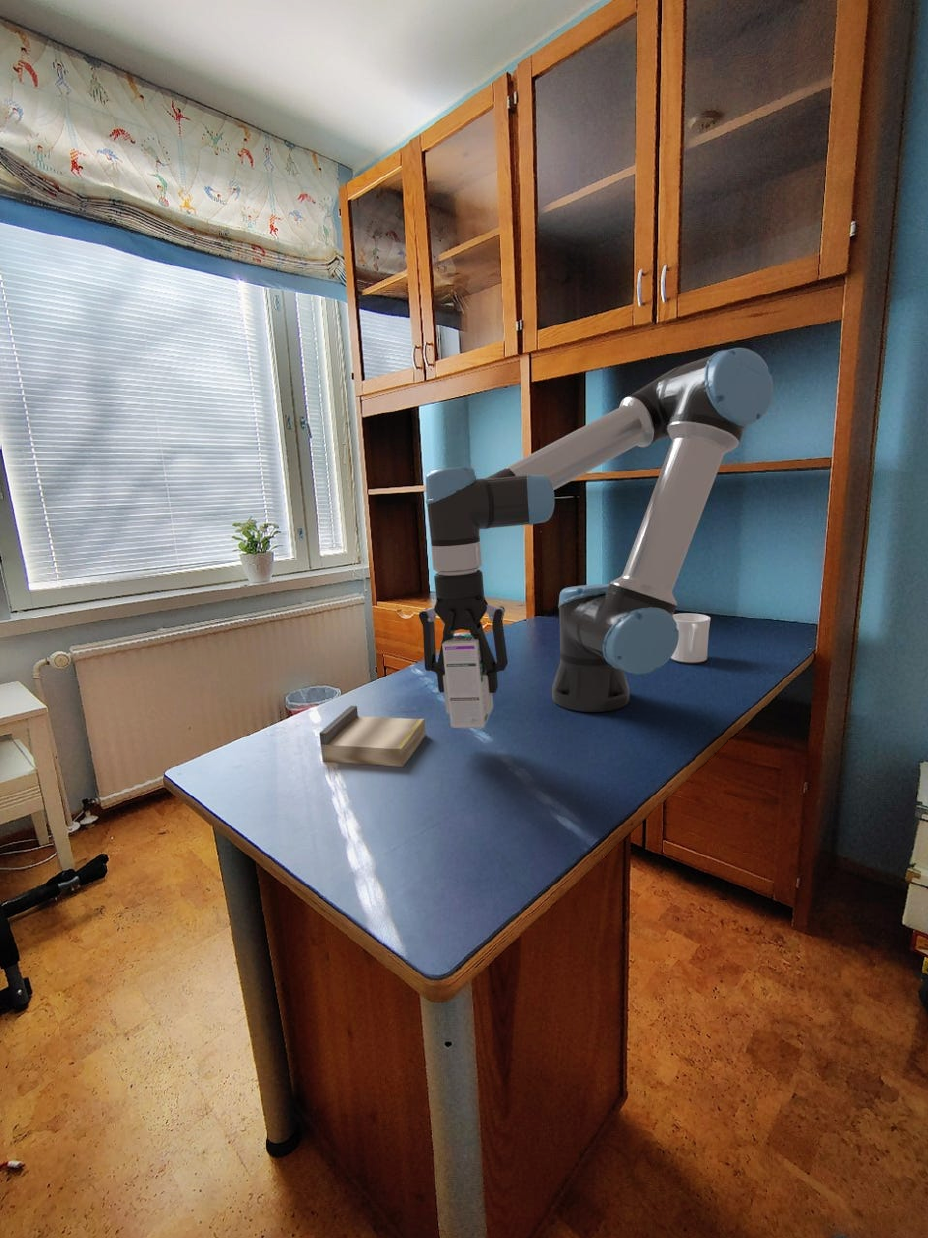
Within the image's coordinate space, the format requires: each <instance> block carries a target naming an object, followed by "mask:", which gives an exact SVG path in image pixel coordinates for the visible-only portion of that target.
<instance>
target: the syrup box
mask: <svg viewBox="0 0 928 1238" xmlns="http://www.w3.org/2000/svg"><path fill="white" fill-rule="evenodd" d="M442 647H443V657H444V667H445V677H446V687H447V696H448V706H449V713H448V715H449V722H450V723H449V724H450V727H451V728H452V729H453V728H455V729H485V727H486V725H487V723H488V720H489V718H490V715H491V713H490V714H485V701H484V689H483V674H484V673H485V671H486V669H485V666H484V664H483V661H482V659H481V656H480V648H479V641H478V640H477V639H474V638H473V636H472V635H471V633H470V631H468V632H467V631H465V632H464V631H463V632H456V633H454V636H453V637H452V638H451V639H450V640H446V641H445V642H444V643H443V644H442Z"/></svg>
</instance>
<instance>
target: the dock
mask: <svg viewBox="0 0 928 1238" xmlns="http://www.w3.org/2000/svg"><path fill="white" fill-rule="evenodd" d="M425 721H426V720H425V718H404V717H403V718H401V717H400V718H399V717H384V716H383V717H380V716H379V717H378V716H362V715H361V716H360V715H359V713H358V706H357V705H350V706H349V707H347V708H346V709H345V710H344V711H343V712H342V713H341V714H339V716H337V717H336V718H335V719H334V720H333V721H331V722H330V723H329V724H328V725H327V726H325V727H324V728H323V729H322V730H321V731H319V741H320V750H321V751H320V752H321V759H322V760H321V761H322V762H329V763H340V764H341V763H342V764H355V765H370V766H371V765H372V766H383V767H384V766H387V767H399V768H400V767H401V768H403V767H404V766H405V764H406V763H407V761H408V760H409V759H410V757H411V756H412V755H413V753H414V752H415V750H417V748H418V747H419V745H420V744H421V743H422V741H423V739H424V738H425V737H426V734H427V733H426V722H425Z"/></svg>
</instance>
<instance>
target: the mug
mask: <svg viewBox="0 0 928 1238" xmlns="http://www.w3.org/2000/svg"><path fill="white" fill-rule="evenodd" d="M673 618H674V620H675V621H676V623H677V630H679V640H678V644H677V647H676V650H675V651H674V653H673V655H672V656H671V658H670V660H671V661H672V662H674V663H677V664H682V665H687V666H688V665H691V666H692V665H696V666H697V665H701V664H704V663H706V662H707V660H708V647H709V636H710V634H709V633H710V626H711V625H710V624H711V617H710V616H708V615H706V614H700V613H687V612H686V613H676V614H675V613H674V614H673Z"/></svg>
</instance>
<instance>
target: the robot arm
mask: <svg viewBox="0 0 928 1238" xmlns="http://www.w3.org/2000/svg"><path fill="white" fill-rule="evenodd" d="M773 393H774V383H773V377H772V374H770V371H769V367H768V365H767V363H766V362H765V360H764V358H762V357H761V355H759V354H758V353H756V352H755V351H753V350H752V349H749V348H745V347H734V348H730V349H723V350H718V351H716V352H714V353H713V354H712V355H710V356H707V357H703V358H701V359H698V360H695V361H692V362H689V363H685V364H682V365H679V366H677V367H675V368H672V369H671V370H669V371H667V372H666V373H664V374H662V375H661V376H659V377H658V378H656V379H655V380H653V381H651V382H650V383H648V384H647V385H645V386H642V388H640V389H639V390H637V391H636V392H634V393H633V392H632V394H630V395H628V396H627V397H623V399H622V400H621V401H620V403H619V407H617V408H615V409H614V410H612V411H610V412H608V413H606V414H605V415H602V416H601V417H599V418H597V419H595V420H593V421H591V422H589V423H587V424H586V425H584V426H582V427H580V428H578V429H576V430H574V431H572V432H570V433H568V434H567V435H564V436H563V437H561V438H559V439H557V440H555V441H553V442H551V443H550V444H547V445H546V446H544V447H542V448H540V449H539V450H537V451H534V452H533V453H531V454H529V455H527V456H525V457H523V458H521V459H520V460H518V461H516V462H514V463H512V464H510V465H508V466H506V467H505V468H504V469H502V470H499V471H497V472H495V473H493V474H491V475H489V476H488V477H486V478H485V477H484V478H477V476H476V473H475V469H474V468H473V467H471V466H461V467H460V466H459V467H446V468H438V469H433V470H432V469H431V470H430V471H428V473H427V475H426V476H425V488H426V489H425V491H426V492H425V493H426V501H425V504H426V508H427V517H428V524H429V526H428V527H429V535H430V544H431V545H430V546H431V556H432V557H431V558H432V569H433V571H435V572H437V573H435V575H434V576H433V578H434V579H433V580H434V590H435V591H434V592H435V604H434V606H433V607H430V608H424V609H423V610H422V611H421V612H419V613H418V617H419V620H420V622H421V623H420V624H421V625H422V635H423V639H422V640H423V659H424V669H425V671H427V672H433V673H435V674H436V676H437V677H436V680H437V686H438V687H437V688H438V692H439V693H443V694H444V701H445V703H444V704H445V712H446V713H445V714H449V706H448V696H447V687H446V677H445V667H444V657H443V647H442V644H443V643H444V642H445V641H446V640H450V639H451V638H452V637H453V636H454V634H455V632H456V631H458V630H459V631H460V630H463V631H468V632H470V633H471V635H472V636H473V638H474V639H477V640H478V641H479V648H480V656H481V659H482V661H483V664H484V666H485V669H486V671H485V673H484V674H483V689H484V701H485V714H490V715H491V714H492V711H493V709H494V701H493V694H495V693H497V690H498V687H499V686H498V685H499V684H498V672H504V671H505V670H506V668H507V666H508V663H509V661H508V654H507V646H506V637H505V631H504V625H503V619H504V616H505V607H504V606H501V605H500V606H498V607H497V606H493V605H489V603H488V601H487V599H486V598H485V589H484V576H483V571H481V569H479V568H481V567H482V563H483V562H482V553H481V552H482V551H481V538H480V536H481V535H480V530H486V529H487V530H488V529H493V528H505V527H506V528H507V527H517V526H526V525H527V526H528V525H529V526H532V525H535V524H540V523H541V524H542V523H546V522H547V521H549V520H550V519H551V517H552V515H553V512H554V509H555V492H554V490H557V489H559V488H560V487H562V486H564V485H566V484H568V483H570V482H572V481H573V480H576V479H577V478H579V477H581V476H583V475H584V474H586V473H588V472H590V471H592V470H593V469H594V470H595V468H596V469H597V468H598V467H599V466H601V465H603V464H605V463H607V462H608V461H611V460H612V459H615V458H616V457H618V456H620V455H622V454H624V453H626V452H627V451H629V450H631V449H633V448H634V447H636V446H637V447H639V448H646V447H648V446H650V445H652V444H654V443H657V442H658V441H660V440H663V439H668V438H670V439H671V443H670V446H669V449H668V451H667V454H666V457H665V459H664V462H663V465H662V467H661V469H660V473H659V475H658V478H657V481H656V484H655V486H654V489H653V491H652V494H651V497H650V500H649V502H648V505H647V509H645V510H646V511H645V513H644V516H643V518H642V522H641V524H640V527H639V529H638V532H637V535H636V538H635V540H634V543H633V546H632V548H631V551H630V553H629V557H628V559H627V562H626V565H625V567H624V570H623V573H622V575H621V576H620V577H618V578H616V579H614V580H611V581H610V582H609V583H598V584H585V585H583V584H582V585H577V586H569V587H565V588H563V589H562V590H561V591H560V593H559V596H558V597H559V598H558V607H557V608H558V617H559V618H558V620H559V621H558V622H559V623H558V624H559V651H560V652H559V656H560V657H559V658H560V660H559V661H560V662H559V665H558V668H557V671H556V674H555V677H554V680H553V684H552V688H551V700H552V701H553V702H554V704H556V705H558V706H560V707H562V708H564V709H567V710H572V711H577V712H583V713H602V712H610V711H616V710H618V709H621V708H624V707H625V706H626V705H628V704H629V702H630V686H629V684H628V680H627V677H626V674H625V673H624V672H626V673H629V674H633V675H646V674H649V673H652V672H653V671H655V670H657V669H660V668H662V666H664V665H665V664H667V663H668V661H669V660H671V656H672V655H673V653H674V651H675V650H676V647H677V644H678V640H679V630H677V623H676V621H675V620H674V618H673V615H675V612H676V608H677V606H678V603H677V600H676V598H675V597H674V595H673V590H674V587H675V585H676V582H677V579H678V577H679V574H680V571H681V570H682V566H683V564H684V561H685V558H686V556H687V553H688V551H689V549H690V548H689V547H690V545H691V543H692V540H693V537H694V534H695V532H696V530H697V527H698V525H699V523H700V520H701V516H702V514H703V512H704V508H705V506H706V503H707V500H708V498H709V496H710V493H711V490H712V487H713V485H714V482H715V480H716V477H717V475H718V472H719V469H720V467H721V464H722V462H723V458H724V455H725V454H727V453H729V452H731V451H733V450H735V449H736V448H738V447H739V444H740V441H741V439H742V436H743V433H744V431H745V428H746V426H749V425H751V424H754V423H755V422H757V420H760V419H761V418H763V417H764V416H765V414H766V413H767V412H768V410H769V407H770V405H771V403H772V399H773ZM486 614H487V615H488V618H489V620H490V621H491V622H492V624H491V625H492V626H491V629H492V636H493V643H494V644H493V645H494V649H495V651H494V652H495V657H494V655H493V652H492V650H491V647H490V645H489V642H488V640H487V637H486V634H485V632H484V628H483V624H482V619H483V617H484V615H486ZM437 616H438V618H439V619H440V620H441V621H442V622H443V624H444V627H443V631H442V640H441V644H440V648H439V654H438V657H437V656H436V655H437V654H436V651H437V650H436V630H435V629H436V625H435V620H436V619H437V618H436V617H437ZM437 658H438V659H437ZM495 659H496V660H495Z"/></svg>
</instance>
